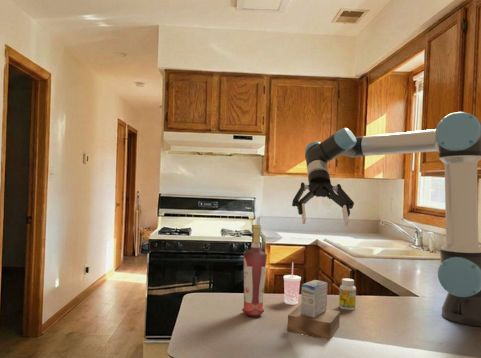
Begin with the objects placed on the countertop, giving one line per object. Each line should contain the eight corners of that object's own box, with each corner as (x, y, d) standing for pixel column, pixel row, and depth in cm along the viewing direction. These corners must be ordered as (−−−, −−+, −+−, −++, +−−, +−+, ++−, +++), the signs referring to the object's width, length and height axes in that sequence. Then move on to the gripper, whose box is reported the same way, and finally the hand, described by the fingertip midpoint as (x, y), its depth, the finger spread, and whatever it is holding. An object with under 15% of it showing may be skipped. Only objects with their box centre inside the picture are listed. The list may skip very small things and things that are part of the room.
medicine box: (313, 308, 121) (314, 279, 121) (326, 311, 118) (328, 282, 118) (300, 314, 115) (301, 283, 115) (314, 318, 112) (315, 286, 112)
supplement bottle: (358, 309, 137) (359, 280, 137) (346, 310, 135) (347, 281, 135) (348, 304, 142) (349, 277, 142) (335, 306, 140) (336, 278, 140)
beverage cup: (299, 305, 138) (301, 264, 139) (281, 304, 140) (283, 263, 140) (300, 301, 144) (302, 261, 145) (283, 299, 146) (284, 260, 146)
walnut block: (339, 328, 119) (339, 311, 119) (329, 341, 109) (330, 323, 109) (299, 320, 125) (300, 304, 125) (287, 333, 114) (288, 315, 114)
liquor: (266, 318, 124) (270, 226, 125) (243, 318, 123) (247, 226, 123) (261, 310, 131) (265, 224, 132) (239, 311, 130) (243, 223, 131)
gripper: (351, 184, 147) (362, 231, 132) (282, 182, 147) (285, 228, 132) (356, 169, 142) (367, 216, 127) (284, 166, 142) (287, 212, 127)
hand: (325, 222), depth 129 cm, fingers open, 13 cm apart
